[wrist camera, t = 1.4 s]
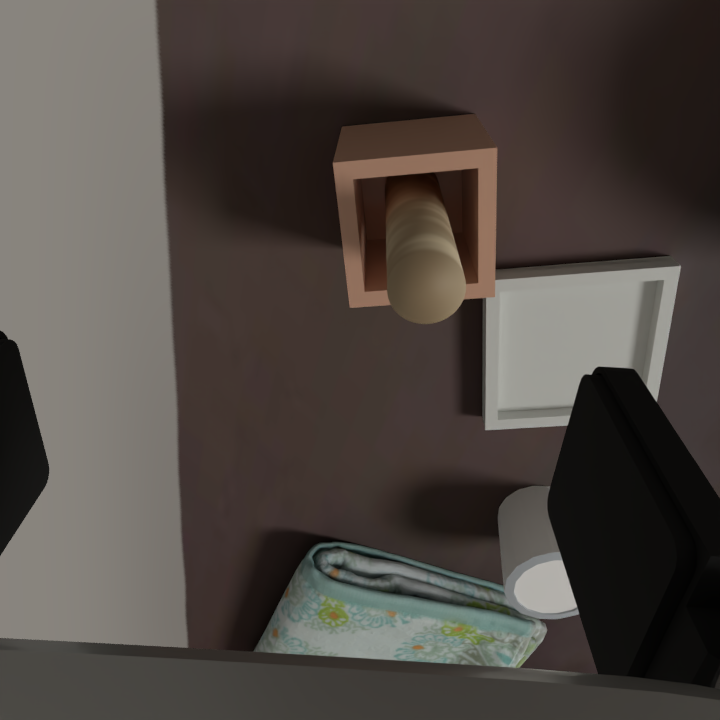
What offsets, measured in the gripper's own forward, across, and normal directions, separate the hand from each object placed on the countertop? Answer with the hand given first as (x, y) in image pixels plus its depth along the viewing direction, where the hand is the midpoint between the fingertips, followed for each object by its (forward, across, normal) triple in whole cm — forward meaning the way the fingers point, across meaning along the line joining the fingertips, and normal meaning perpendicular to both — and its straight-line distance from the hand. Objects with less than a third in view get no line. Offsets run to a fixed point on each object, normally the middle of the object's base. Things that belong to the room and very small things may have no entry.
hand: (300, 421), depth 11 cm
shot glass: (+27, -15, +28) cm, 42 cm away
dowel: (+26, -4, +4) cm, 27 cm away
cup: (+27, -4, +4) cm, 28 cm away
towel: (+28, -5, +43) cm, 51 cm away
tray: (+27, -14, +13) cm, 33 cm away
